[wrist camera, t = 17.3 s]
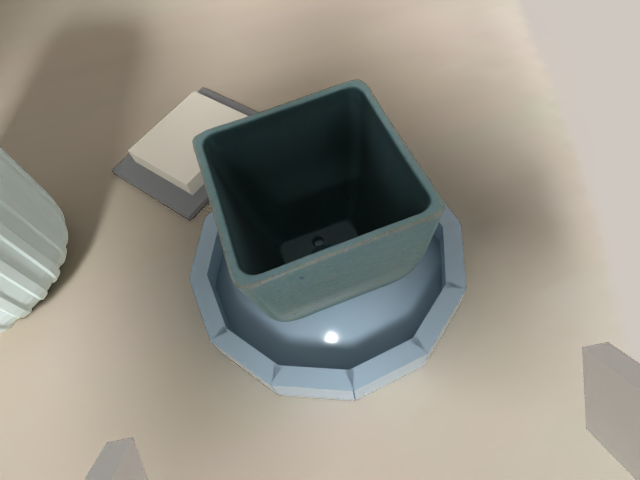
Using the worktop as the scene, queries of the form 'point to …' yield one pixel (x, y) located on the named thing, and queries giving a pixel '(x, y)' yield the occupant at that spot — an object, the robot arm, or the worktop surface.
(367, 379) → the dish
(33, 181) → the vase
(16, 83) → the worktop surface
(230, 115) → the mat with cloth
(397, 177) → the flower pot
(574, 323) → the worktop surface
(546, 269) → the worktop surface
